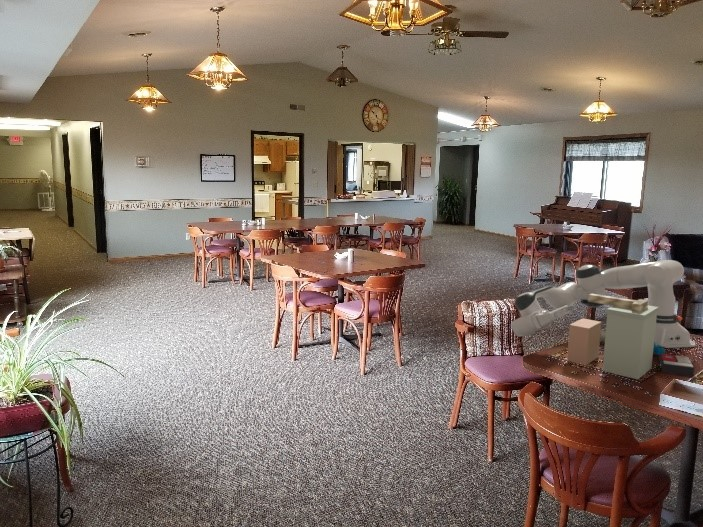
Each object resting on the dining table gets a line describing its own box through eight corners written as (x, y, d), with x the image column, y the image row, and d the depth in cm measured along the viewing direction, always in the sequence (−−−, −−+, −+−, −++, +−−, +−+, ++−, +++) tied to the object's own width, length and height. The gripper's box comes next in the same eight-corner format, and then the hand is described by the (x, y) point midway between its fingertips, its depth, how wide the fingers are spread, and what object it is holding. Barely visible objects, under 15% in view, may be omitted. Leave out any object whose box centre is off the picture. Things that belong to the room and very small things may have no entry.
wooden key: (585, 303, 226) (585, 296, 225) (594, 298, 233) (594, 292, 232) (639, 312, 211) (640, 304, 211) (647, 307, 218) (648, 300, 218)
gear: (669, 354, 235) (659, 340, 232) (664, 365, 234) (653, 351, 230) (646, 350, 245) (635, 337, 242) (640, 361, 243) (629, 347, 240)
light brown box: (567, 360, 232) (569, 324, 229) (580, 352, 242) (582, 318, 239) (585, 365, 227) (588, 328, 224) (598, 357, 237) (601, 321, 234)
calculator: (689, 356, 228) (694, 366, 214) (688, 366, 228) (693, 376, 215) (659, 352, 233) (663, 362, 219) (658, 362, 233) (662, 372, 220)
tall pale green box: (601, 370, 220) (606, 308, 216) (616, 359, 233) (622, 301, 229) (638, 379, 211) (644, 315, 206) (652, 368, 223) (658, 307, 219)
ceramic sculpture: (595, 321, 261) (630, 327, 255) (593, 338, 263) (627, 344, 256) (594, 326, 252) (629, 333, 245) (591, 344, 254) (626, 351, 247)
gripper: (555, 320, 251) (583, 311, 242) (536, 330, 237) (564, 320, 228) (550, 308, 253) (576, 298, 243) (529, 316, 238) (557, 306, 229)
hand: (570, 308), depth 235 cm, fingers open, 8 cm apart
